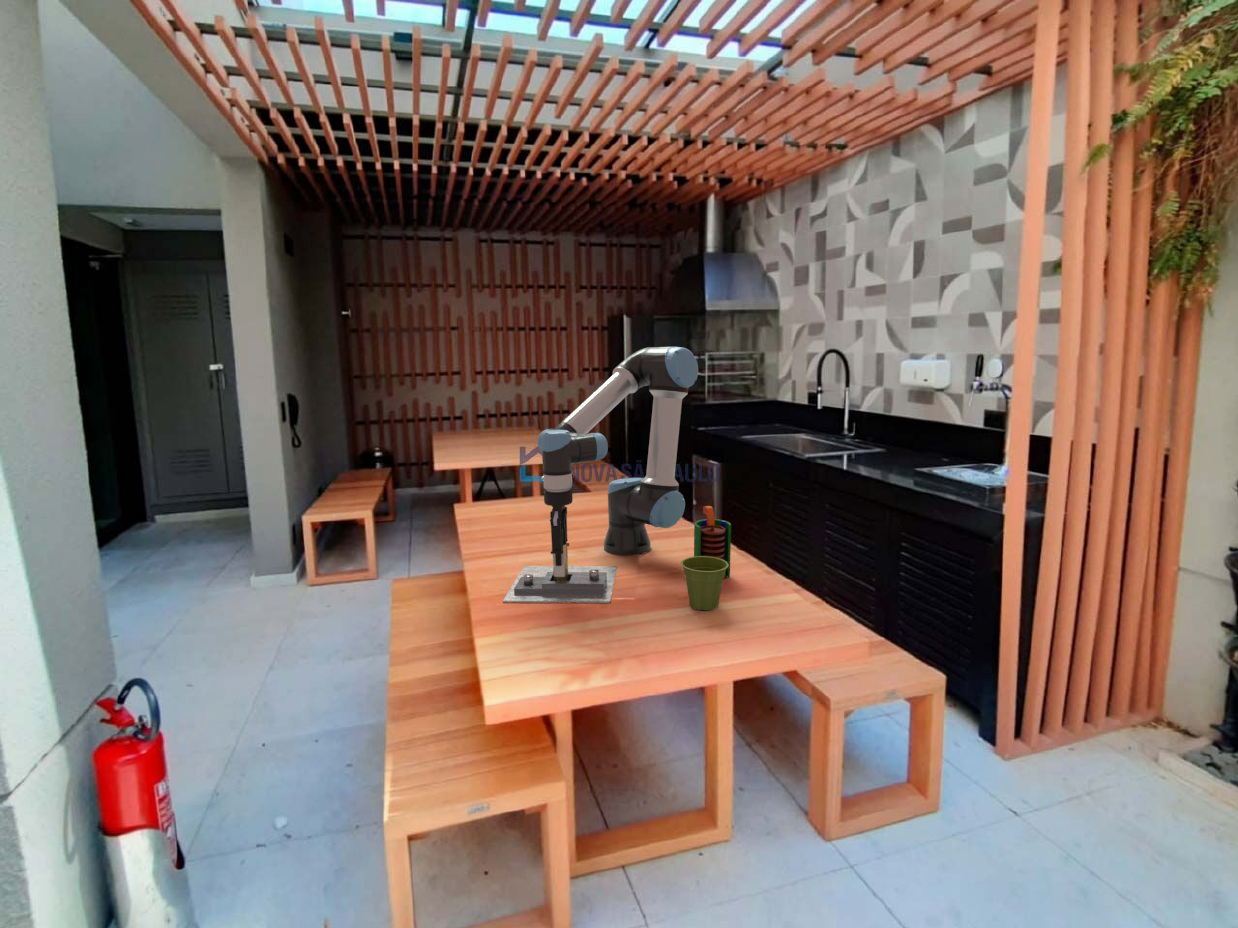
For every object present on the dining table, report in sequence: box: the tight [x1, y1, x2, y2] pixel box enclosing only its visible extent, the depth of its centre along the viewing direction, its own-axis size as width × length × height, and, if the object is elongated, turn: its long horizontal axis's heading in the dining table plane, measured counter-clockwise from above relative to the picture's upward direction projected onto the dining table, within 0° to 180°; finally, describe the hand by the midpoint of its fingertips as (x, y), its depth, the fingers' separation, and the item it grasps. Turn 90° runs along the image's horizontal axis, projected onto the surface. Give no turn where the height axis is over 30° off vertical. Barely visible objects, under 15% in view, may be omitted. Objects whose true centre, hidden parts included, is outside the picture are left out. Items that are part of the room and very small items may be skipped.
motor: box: [693, 505, 732, 581], centre depth 186 cm, size 10×9×20 cm
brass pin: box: [552, 544, 569, 581], centre depth 178 cm, size 4×4×12 cm
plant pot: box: [680, 556, 729, 611], centre depth 166 cm, size 12×12×11 cm
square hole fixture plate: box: [502, 565, 618, 604], centre depth 183 cm, size 28×27×6 cm
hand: (561, 573), depth 178 cm, fingers closed on brass pin, 4 cm apart
